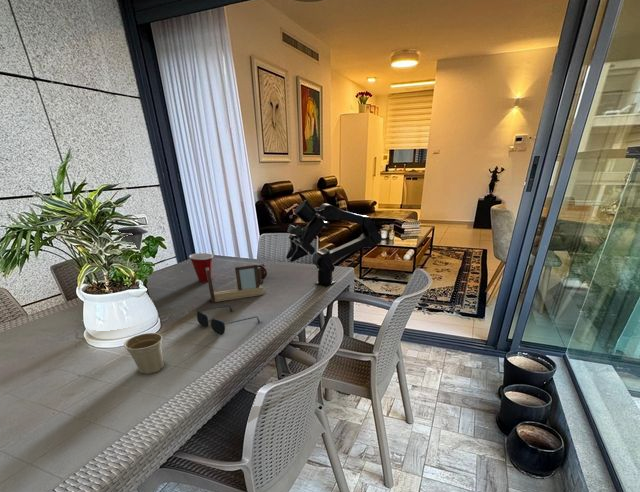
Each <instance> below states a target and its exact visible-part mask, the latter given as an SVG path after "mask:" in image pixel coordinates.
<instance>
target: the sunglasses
mask: <svg viewBox="0 0 640 492" xmlns="http://www.w3.org/2000/svg"><path fill="white" fill-rule="evenodd" d="M227 307H229V311H230V312H231V313H232V312H233V309H232V307H231V305H229V304H227V305H223V306H217V307H216V306H215V307H211V308H207V309H201V310H197V311H196V319H197V322H198V324H199V325H200V326H201V327H203V328H208V327H209V326H210V327H211V330H212V332H214V333H215V334H216V335H219V336H222V335H224V334H225V333H226V326H225V325H228V324H233V323H238V322H241V321H246V320H251V319H254V318H256V320H257V323H258V324H260V319H259V316H256V315H255V316H251V317H247V318H243V319H238V320H234V321H230V322H226V323H225V322H224V321H222V320H219V319H216V318H211V319H209V317H208V315H207V314H205V313H203V312H204V311H210V310H215V309H220V308H227Z"/></svg>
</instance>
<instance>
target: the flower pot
mask: <svg viewBox="0 0 640 492" xmlns="http://www.w3.org/2000/svg"><path fill="white" fill-rule="evenodd" d="M162 341H163V335H161V334H160V333H156V332H145V333H141V334H138V335H135V336H132V337H130V338H128V339H127V340H126V341H124V343H123V348H124V349H126V350H127V352H128V353H129V354H130V356H131V358H132V359H133V362H134V363H135V365H136V367H137V369H138V372H140V374H147V375H150V374H154V373H157V372H160V370H161V369H162V368H164V357H163V352H162V351H163V350H162V345H163V342H162Z"/></svg>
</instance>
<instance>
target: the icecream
mask: <svg viewBox="0 0 640 492" xmlns="http://www.w3.org/2000/svg"><path fill="white" fill-rule="evenodd" d="M257 267H260V269H261V278H262V280H264V279H265V278H267V276H268V272H267V268H266V264H265V263H262V264H257Z"/></svg>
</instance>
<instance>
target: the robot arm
mask: <svg viewBox="0 0 640 492" xmlns="http://www.w3.org/2000/svg"><path fill="white" fill-rule="evenodd" d="M293 213H294V214H295V215H296V216H297V217H298V218H299V219H300V220H301V221H302V222H303V223H304V224H305V223H307V225H306V226H301V225H298V224H296V226H295V225H292V224H289V225H288V228H287V230H286V233H289V236H288V239H289V243H290V246H289V249H288V251H287V254H286V256H285V258H286V259H287V260H289V262H290V263H293V262H295V261H298V260H300V259H301V258H303V257H305V256H309V255H311V256H312V259H311V261H312V263H313V265H314V266H315V267H316V269H318V270H317V281H316V282H315V284H316V285H320V286H324V287H328V286H330V285H333V284H335V283H336V281H335V280H333V272H335V269H336V267H335V265H334V264H333V263H334V262H335V261H336V260H338V259H341V258H343V257H345V256H348V255H350V254H351V253H353V252H357V251H358V250H360V249H363V248H371V247H375V246H378V245H380V244H381V242H382V238H383V237H382V234H381V233H380V232H379V230H378V228H377V226H375V224H374V223H373V221H372V218H371V217H370V216H367V215H362V214H357V213H353V212H350V211H345V210H342V209H341V208H339V207H337V206H334V205H333V204H329V203H322V204H321V205H320V206H319V207H313V206H312V205H311V203H310V202H309V201H308V200H307V199H304V201H303V202H301V203H300V204H299V205H297V206H296V208H295V209H294V212H293ZM324 219H325V220H328V221H325V220H324ZM329 221H344V222H350V223H353V224H357V225H360V229H361V234H360V236H359V237H357V238H355V239H352V240H351V241H349V242H347V243H344V244H342V245H340V246H337V247H335V248H333V249H331V250H329V249H327V248H325V247H324V248H322V249H320V250H316V248H315V247H314V246H313V245H312V243H313V241H314V240H317V239H318V235H319V234H320V233H321V231H322V230H323V229H326V230H329V229H330V224H329V223H330V222H329Z"/></svg>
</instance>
